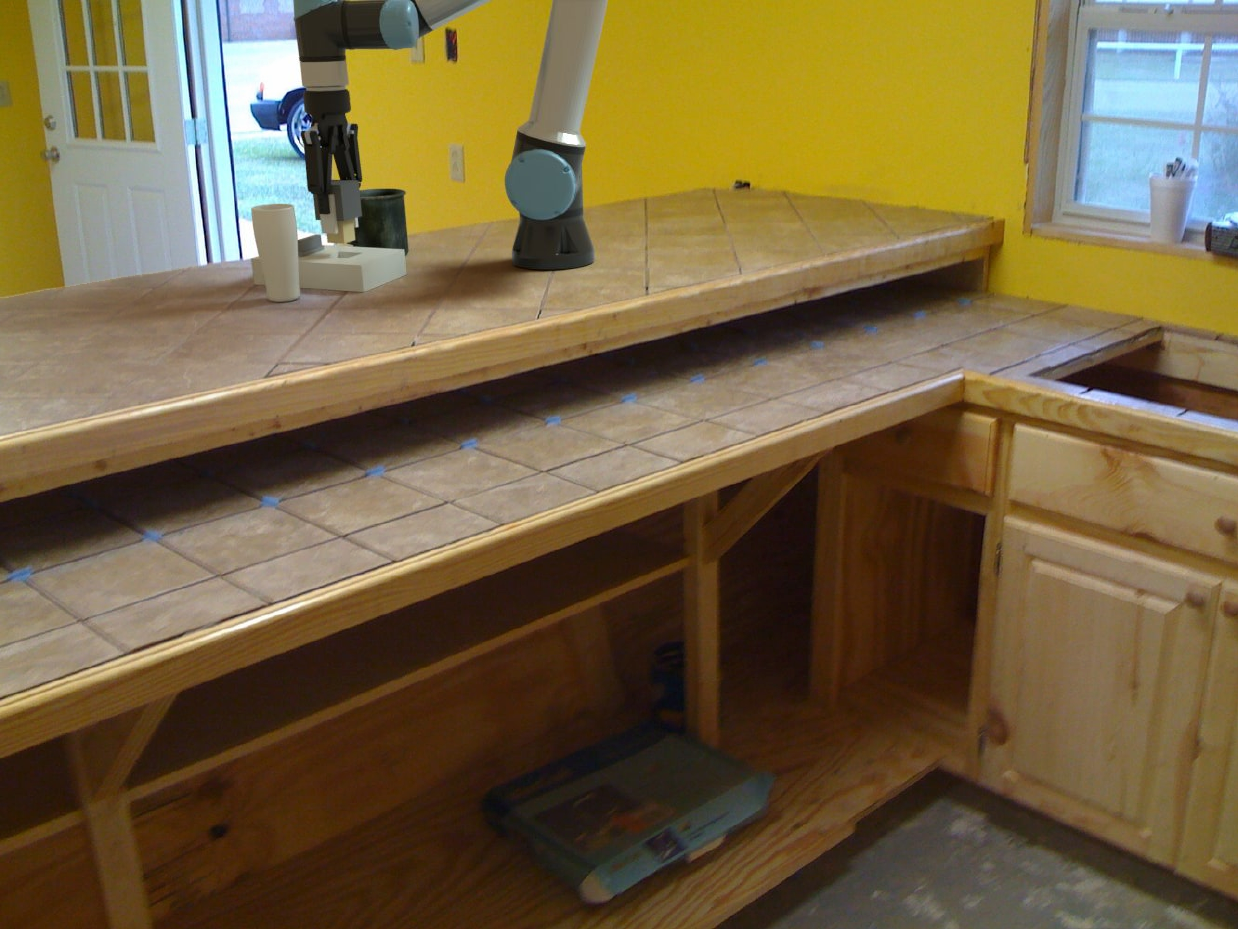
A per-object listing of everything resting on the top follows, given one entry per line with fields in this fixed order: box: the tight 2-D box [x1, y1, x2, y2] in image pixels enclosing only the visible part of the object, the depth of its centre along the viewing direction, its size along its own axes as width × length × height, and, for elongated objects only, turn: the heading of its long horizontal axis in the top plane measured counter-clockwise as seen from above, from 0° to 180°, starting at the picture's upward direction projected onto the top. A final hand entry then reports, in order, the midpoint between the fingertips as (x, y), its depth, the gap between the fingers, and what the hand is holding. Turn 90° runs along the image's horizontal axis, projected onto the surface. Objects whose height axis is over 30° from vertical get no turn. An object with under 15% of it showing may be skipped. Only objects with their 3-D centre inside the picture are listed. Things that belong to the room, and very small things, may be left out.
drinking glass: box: [251, 203, 301, 303], centre depth 192 cm, size 7×7×15 cm
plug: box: [312, 179, 362, 244], centre depth 203 cm, size 6×6×10 cm
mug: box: [346, 188, 410, 257], centre depth 224 cm, size 11×15×12 cm
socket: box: [250, 244, 407, 293], centre depth 207 cm, size 22×14×4 cm, turn 69°
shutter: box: [298, 233, 324, 256], centre depth 208 cm, size 6×6×3 cm
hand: (340, 229), depth 204 cm, fingers closed on plug, 6 cm apart
